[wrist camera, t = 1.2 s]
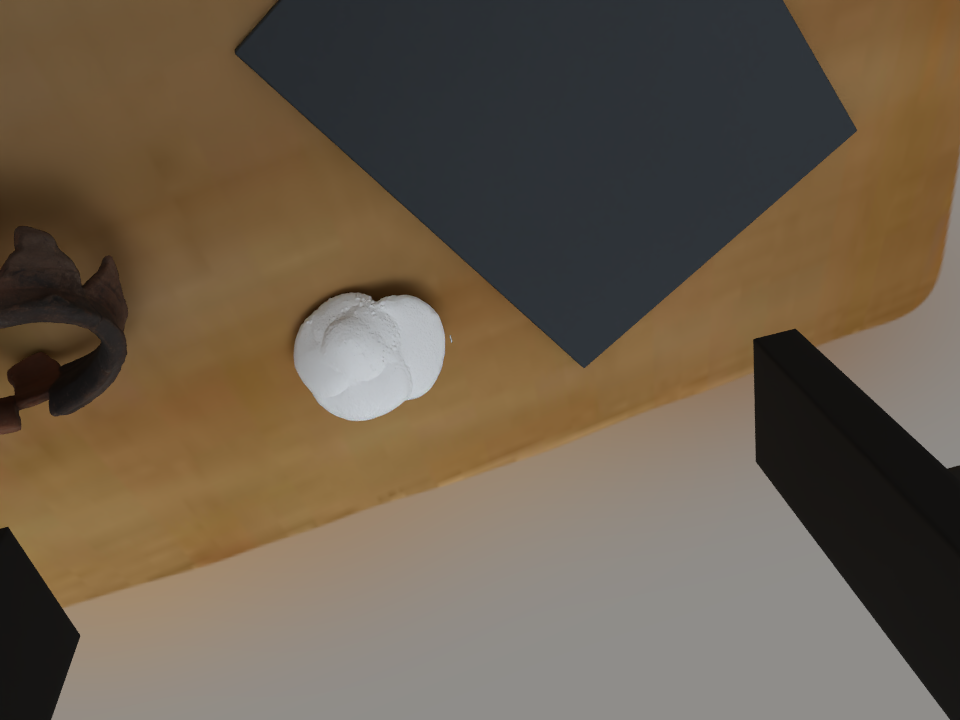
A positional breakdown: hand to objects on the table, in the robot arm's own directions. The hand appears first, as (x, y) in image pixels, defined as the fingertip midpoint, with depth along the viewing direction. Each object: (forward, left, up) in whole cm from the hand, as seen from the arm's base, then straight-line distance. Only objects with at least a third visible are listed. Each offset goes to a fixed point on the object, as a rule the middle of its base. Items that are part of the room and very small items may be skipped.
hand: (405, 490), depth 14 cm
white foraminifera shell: (+8, -6, -22) cm, 24 cm away
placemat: (+7, +8, -22) cm, 24 cm away
